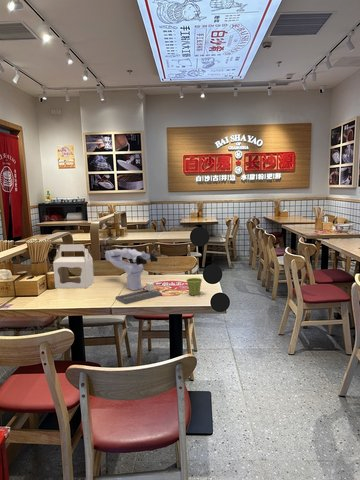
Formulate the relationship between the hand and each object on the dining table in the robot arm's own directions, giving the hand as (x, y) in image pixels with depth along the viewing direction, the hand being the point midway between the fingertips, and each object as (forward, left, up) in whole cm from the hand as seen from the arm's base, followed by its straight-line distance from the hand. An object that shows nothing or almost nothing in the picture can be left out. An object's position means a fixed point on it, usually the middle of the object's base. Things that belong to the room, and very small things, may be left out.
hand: (151, 261), depth 198 cm
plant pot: (+15, +19, -21) cm, 32 cm away
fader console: (-2, -9, -21) cm, 22 cm away
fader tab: (-2, -1, -19) cm, 19 cm away
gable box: (-54, -28, -21) cm, 64 cm away
